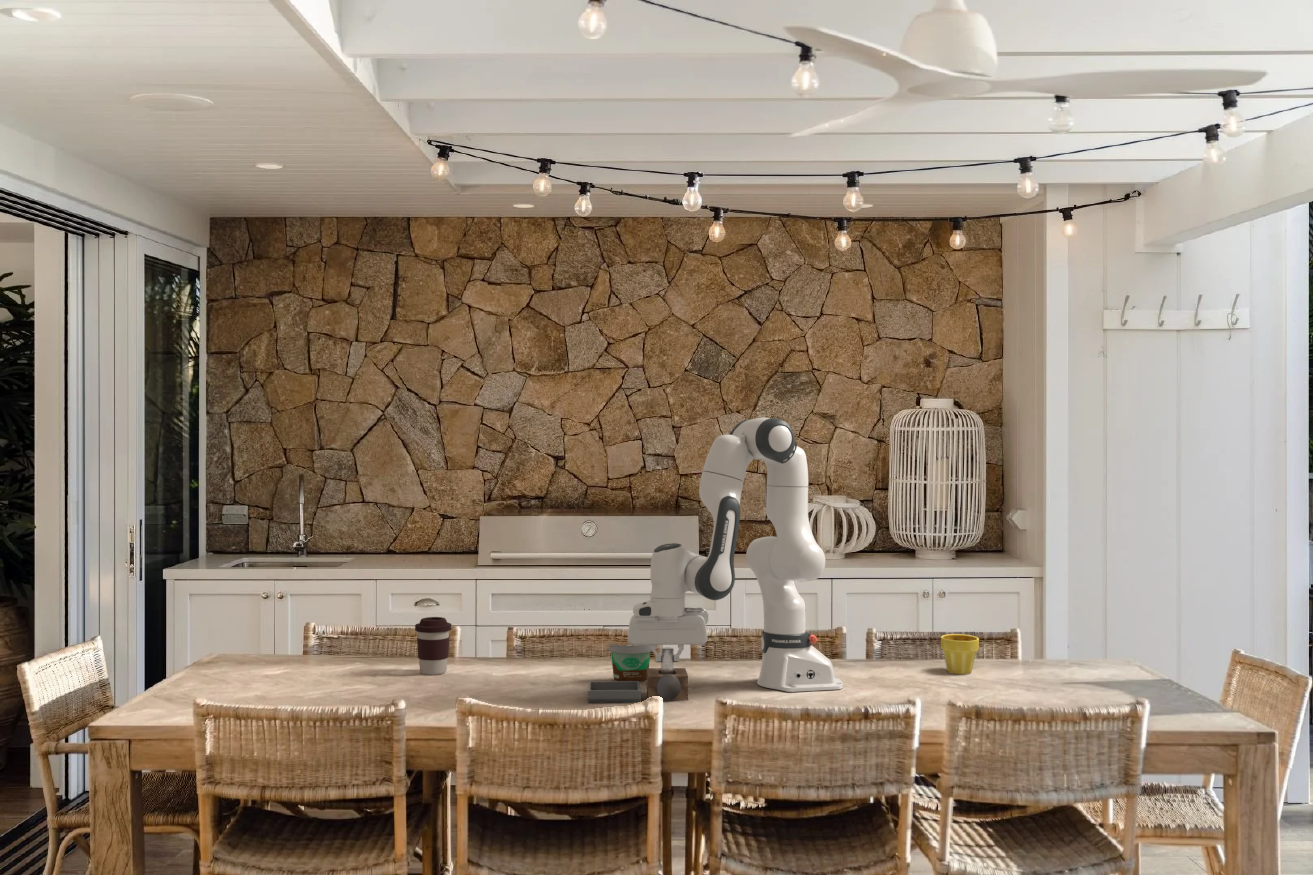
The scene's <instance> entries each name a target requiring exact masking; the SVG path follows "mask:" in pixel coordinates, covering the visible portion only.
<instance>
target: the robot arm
mask: <svg viewBox="0 0 1313 875" xmlns="http://www.w3.org/2000/svg"><path fill="white" fill-rule="evenodd" d="M753 460H756V461H763V463H765V466H766V467H765V468H766V472H767V473H766V474H767V475H766V497H765V514H766V517H767V518H768V520H769V521H770V522H771V523H772V525H773V527H774V530H775V533H776V536H774V535H773V536H772V535H771V536H762V537H759V538H755V539H754V540H752V541H751V542H750V543H749V545H748V547H747V549H746V554H745V557H746V558H745V559H746V563H747V566H748V568H750V570H751V571H752V572H753V573H754V575H755V577H756V580H757V583H758V586H759V590H760V592H761V597H762V604H763V630H762V632H761V651H762V659H761V667H760V671H759V672H760V673H759V676H758V678H757V682H756V684H757V685H759V686H760V687H763V688H766V689H767V688H768V689H772V690H778V691H779V690H780V691H781V692H789V693H790V692H791V693H794V692H795V693H796V692H813V691H814V692H816V691H831V690H841V689H843V688H844V685H843V684H844V683H843V681H842V680H841V679H840V678H838V677H836V676H835V669H834V666H833V663H832V661H831V660H830V659H829V658H828V657H827V656H825V655H824V654H823V653H822V652H821V651H819V650H818V649H817V648H816V647H814V646H813V645H814V644H816V643H817V642H818V639H817V636H816V635H814V634H811V633H810V632H808V631H806V620H807V619H806V601H805V600H804V598H803V597H802V596H801V595H800V593H799V592H798V590H797V587H796V585H795V582H796V583H804V582H806V583H807V582H812V581H815V580H817V579H819V578H820V577H821V576H822V574H823V573H824V571H825V568H826V554H825V552H824V551H823V549H822V547H820V545H819V544H818V543H817V541H816V539H815V537H814V534H813V532H812V527H811V524H810V517H809V469H808V468H809V466H808V461H807V460H808V459H807V454H806V452H805V450H804V449H803V448H801V447H800V446H798V444H797V441H796V437H795V432H794V430H793V429H792V427H791V426H790V424H789V423H788V422H786V421H784V420H782V419H780V418H777V417H771V418H770V417H762V416H761V417H757V418H752V419H751V418H750V419H749V418H748V419H743V420H742V421H740V422H737V424H735V425H734V427H733V428H732V429H731V431H730V432H729V433H728V434H722V435H719V436H717V437H716V438H715V439H714V440H713V443H712V445H711V446H710V448H709V451H708V453H707V456H706V459H705V462H704V465H703V469H702V471H701V472H702V473H701V476H700V481H699V487H698V488H699V490H698V491H699V492H698V496H699V498H700V501H701V502H702V504H703V505H704V506H705V507H706V509H708V511H709V512H710V514H711V517H712V520H713V529H712V536H711V541H710V548H709V552H708V555H707V556H703V555H701V554H698V553H696V552H693V551H691V550H689V549H687V548H686V547H684V546H683V545H682V543H677V542H675V543H673V542H672V543H664V544H661V545H659V546H657V547H656V548H655V549H654V550H653V552H652V555H651V561H650V574H649V575H650V576H649V578H650V582H651V591H650V596H649V597H650V598H649V599H650V600H647V601H643V602H639V603H636V604H634V605H633V608H632V614H633V615H632V616H631V617H630V620H629V622H628V623H629V624H628V629H627V642H628V644H631V645H651V649H652V651H651V652H652V653H653V655H654V656H655V658H654V659H655V663H661V653H660V654H659V653H658V651H657V649H658V646H661V645H662V646H666V645H667V646H671V645H672V646H677V648H678V650H677V652H676V654H675V653H674V663H680V656H681V655H682V652H683V651H684V649H685V646H686V645H687V646H688V645H691V646H692V645H693V646H694V645H696V646H699V645H700V646H701V645H706V643H707V641H708V632H707V631H708V630H707V626H706V625H707V624H708V623H709V613H708V611H707V610H706V609H703V608H702V607H686V593H687V592H690V593H691V592H692V593H694V594H697V595H700V596H702V597H704V598H706V599H708V600H711V601H719V600H722V599H724V598H726V597H727V596H728V595H729V594H730V593H731V592H732V590H733V589H734V586H735V582H736V573H735V572H736V571H735V552H736V547H737V540H738V533H739V528H740V520H741V519H740V518H741V499H742V498H741V497H742V491H743V486H744V482H745V477H746V473H747V469H748V466H749V465H750V464H751V462H752V461H753Z"/></svg>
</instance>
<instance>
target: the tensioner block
mask: <svg viewBox="0 0 1313 875" xmlns="http://www.w3.org/2000/svg"><path fill="white" fill-rule="evenodd" d="M646 695H647V699H648V698H649V697H652V696H660V697H662V698H663V700H662V701H689V675H688V672H687V669H686V667H674V671H673V674H661V667H660V668H658V667H654V668H652V667H651V668H650V667H649V668H647V680H646Z"/></svg>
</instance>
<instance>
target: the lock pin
mask: <svg viewBox="0 0 1313 875" xmlns="http://www.w3.org/2000/svg"><path fill="white" fill-rule="evenodd" d="M660 654H661V662H660V668H661V674H673V671H674V668H675V667H674V663H675V662H674V654H675V653H674V647H666V646H665V647H661V648H660Z"/></svg>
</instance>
